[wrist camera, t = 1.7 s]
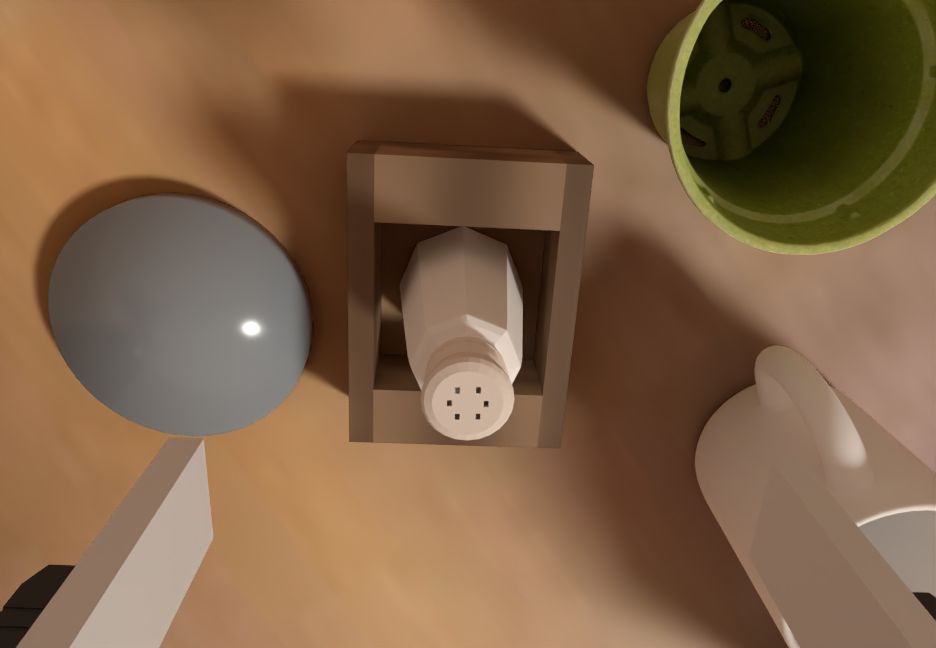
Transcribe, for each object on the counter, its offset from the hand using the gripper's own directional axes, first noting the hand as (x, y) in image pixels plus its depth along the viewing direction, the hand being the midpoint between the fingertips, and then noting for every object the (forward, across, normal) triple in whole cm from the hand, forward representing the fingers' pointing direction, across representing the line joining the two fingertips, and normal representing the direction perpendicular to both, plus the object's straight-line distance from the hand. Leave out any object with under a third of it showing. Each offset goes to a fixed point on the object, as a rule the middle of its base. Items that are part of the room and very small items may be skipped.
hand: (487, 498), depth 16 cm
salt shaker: (+16, -1, 0) cm, 16 cm away
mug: (+16, +14, -6) cm, 23 cm away
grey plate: (+16, -13, -2) cm, 20 cm away
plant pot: (+16, +9, +9) cm, 21 cm away
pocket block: (+16, -1, 0) cm, 16 cm away
